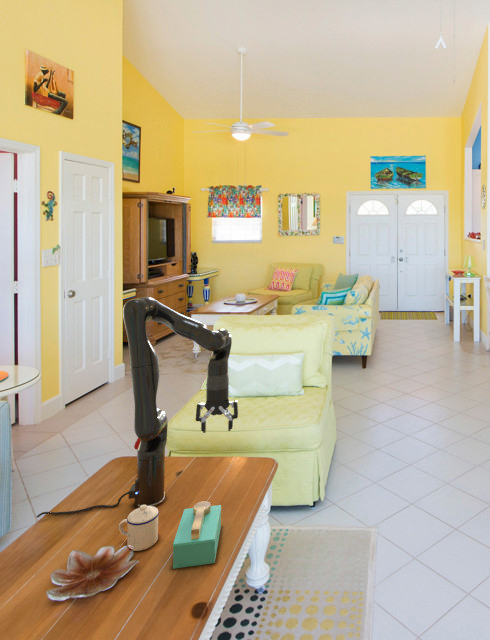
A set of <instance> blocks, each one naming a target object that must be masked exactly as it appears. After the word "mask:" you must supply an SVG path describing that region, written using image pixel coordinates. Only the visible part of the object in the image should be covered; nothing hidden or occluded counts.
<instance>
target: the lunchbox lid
mask: <svg viewBox="0 0 490 640" xmlns="http://www.w3.org/2000/svg"><path fill="white" fill-rule="evenodd" d="M220 510H221V511H222V504H216V505H211V511H210V513H209V514H207V515H205V516H204V520H203V524H202V529H201V533H200V537H199V539H194V540H191V530H192V526H193V522H194V518H195V516H194V515H193V507H190V508H189V507H188V508H184V509H183V512H182V515H181V518H180V522H179V524H178V527H177V531H176V534H175V536H174V540H173V543H172V548H173V547H175V546H183V545H191V544H200V543H208V542H215V537H216V532H217V526H218V521H219V516H220Z"/></svg>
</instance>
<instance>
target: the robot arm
mask: <svg viewBox="0 0 490 640" xmlns="http://www.w3.org/2000/svg"><path fill="white" fill-rule="evenodd" d="M122 317H123V318H122V319H123V323H124V328H125V332H126V336H127V343H128V353H129V363H130V366H129V367H130V375H131V383H132V394H133V400H134V424H133V426H134V427H133V428H134V434H135V435H136V437H137V439H138V438H139V439H140V440H141V441H140V445H139V447H138V450H136V451H137V452H136V457H137V458H136V478H135V481H134V483H132V485H131V487H130V489H129V490H128V491H127V492H125V493H123V494H122V495H120V497H119V498H118V500H117V503H115V504H113V505H107V504H97V505H92V506H89V507H85V508H82V509H77V510H69V511H56V512H55V511H42V512H40V513H39V514H37V515H36V516H35V518H40V517H41V516H43V515H51V516H53V515H54V516H55V515H70V514H76V513H82V512H85V511H89V510H92V509H93V510H94V509H99V508H106V509H107V508H109V509H110V508H115V507H118V506H119V505H120V503H121V500H122V499H123V498H124V497H125V496H127V495H128V500H132V499H134V508H140V506H141V505H146V506H153V507H157V506H159V505H161V504H162V503H164V501H165V498H166V497H165V495H166V494H165V478H166V476H165V475H166V474H165V473H166V472H165V471H166V470H165V469H166V446H167V442H168V427H169V425H168V423H169V422H168V416H167V414H166V412H165V411H164V410H163V409H161V408H158V407H157V394H158V389H159V383H160V362H159V356H158V352H157V351H156V349H155V348H154V347H153V345H152V344H151V342H150V340H149V338H148V334H147V322H150V321H151V322H157V323H160V324H162V325H165V326H166V327H168V328H169V329H170V330H171V331H172V332H173V333H174V334H175V335H177V336H180V337H182V338H184V339H186V340H188V341H192V342H194V343H196V344H197V346H200V347H201V348H203V349H204V350H206V351H209V352H211V353H212V354H211V356H210V357H208V360H207V374H206V375H207V376H206V384H205V387H206V389H205V391H206V393H205V394H206V395H205V396H206V398H205V402H201V401H199V402H198V403H197V404H196V411H195V422H199V423H200V426H201V427H200V431H201V432H202V433H203V434H206V433H207V420H208V418H209V417H210V415H211V416H222V415H224V417H226V419H228V424H227V425H228V427H227V431H228V432H231V430H232V429H233V427H234V420H235V419H238V417H239V406H238V404H239V403H238V402H239V401H238V399H234V400H231V401H230V400H229V391H230V389H229V386H230V385H229V384H230V379H229V360H230V359H229V358H230V355H231V349H232V343H233V338H232V334H231V333H230V331H229V330H227V329H226V328H218V329H217V330H212V329H211V330H210V329H208V326H207V325H206V324H205V323H203V322H201V321H198V320H195V319H193V318H191V317H188V316H186V315H184V314H181V313H179V312H177V311H175V310H174V309H171V308H170V307H168V306H167V305H164V304H163V303H161V302H159V301H158V300H156V299H155V298H153V297H150V296H141V297H136V298H132V299H129V300H128V301H126V302H125V304H124V305H123V308H122ZM229 407H231V408H232V409H233V413H232V412H231V411H230V410H229ZM204 408H205V409H206V410H207V411H206V412H205V413H204V415H203V416H201V412H202V410H203V409H204ZM50 512H51V513H50ZM48 513H49V514H48Z"/></svg>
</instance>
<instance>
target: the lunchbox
mask: <svg viewBox="0 0 490 640" xmlns="http://www.w3.org/2000/svg"><path fill="white" fill-rule="evenodd" d="M221 528H222V509H221V510H220V516H219V521H218V526H217V532H216V537H215V542H208V543H200V544H191V545H183V546H175V547H173V546H172V551H173V552H172V569H182V568H189V567H195V566H204V565H212V564H215V563H216V557H217V552H218V545H219V540H220V535H221Z"/></svg>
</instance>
